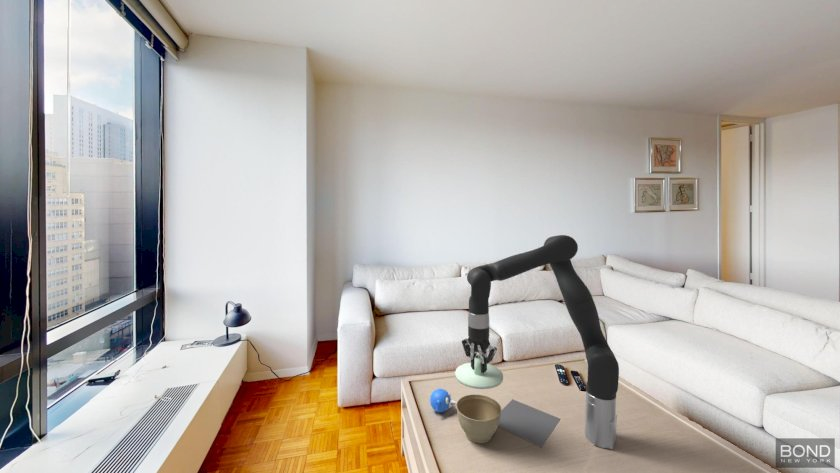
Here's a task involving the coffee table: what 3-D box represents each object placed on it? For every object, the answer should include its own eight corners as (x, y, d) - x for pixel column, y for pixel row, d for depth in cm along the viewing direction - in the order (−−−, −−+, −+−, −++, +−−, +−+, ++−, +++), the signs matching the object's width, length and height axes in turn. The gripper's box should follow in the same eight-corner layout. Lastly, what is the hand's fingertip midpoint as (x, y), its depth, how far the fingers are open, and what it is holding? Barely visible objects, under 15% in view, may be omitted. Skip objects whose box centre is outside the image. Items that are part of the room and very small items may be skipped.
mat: (560, 419, 123) (560, 418, 123) (541, 448, 108) (541, 447, 108) (512, 400, 137) (512, 399, 137) (489, 423, 122) (489, 422, 122)
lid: (511, 374, 115) (511, 355, 114) (488, 395, 102) (487, 374, 102) (471, 360, 126) (471, 343, 126) (446, 377, 114) (445, 358, 113)
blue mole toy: (455, 422, 122) (455, 402, 122) (426, 416, 126) (426, 396, 126) (461, 405, 134) (461, 385, 133) (434, 400, 138) (434, 381, 137)
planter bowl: (506, 451, 108) (506, 420, 107) (458, 451, 108) (458, 420, 107) (495, 420, 124) (495, 393, 123) (454, 420, 124) (454, 393, 123)
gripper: (501, 325, 111) (501, 372, 112) (467, 317, 120) (468, 361, 122) (491, 331, 105) (491, 381, 107) (456, 322, 115) (456, 368, 116)
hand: (478, 370), depth 114 cm, fingers closed on lid, 3 cm apart
